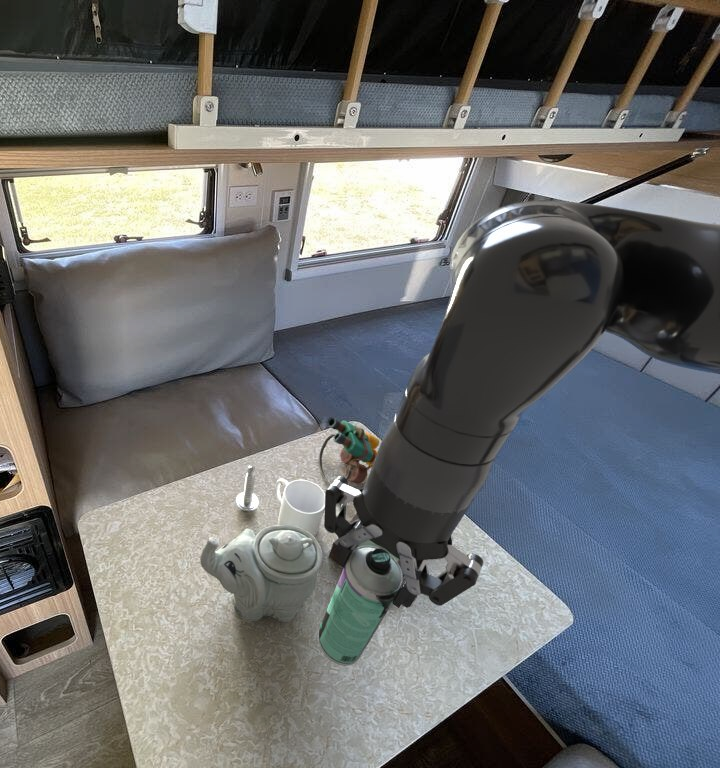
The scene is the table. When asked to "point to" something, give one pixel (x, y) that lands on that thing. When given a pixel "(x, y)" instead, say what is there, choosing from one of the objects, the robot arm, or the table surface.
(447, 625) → the table surface
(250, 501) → the screw
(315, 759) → the table surface
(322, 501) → the cup
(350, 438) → the binoculars
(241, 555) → the teapot
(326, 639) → the spray can
